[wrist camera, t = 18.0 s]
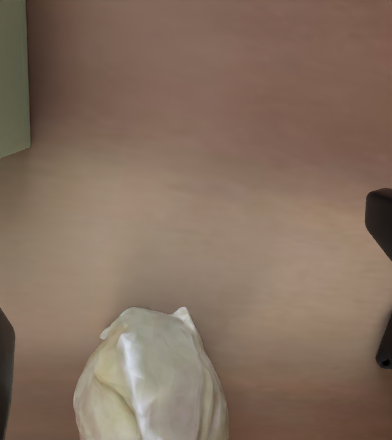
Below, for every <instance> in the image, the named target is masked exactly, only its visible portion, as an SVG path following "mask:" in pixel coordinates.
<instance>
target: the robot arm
mask: <svg viewBox="0 0 392 440" xmlns="http://www.w3.org/2000/svg"><path fill="white" fill-rule="evenodd" d="M365 225H366V228H367V230H368V231H369V233H370V234H371V235H372V237H373V238H374V239H375V240H376V242H377V243H378V244H379V246H380V247H381V248H382V249H383V251H384V252H385V253H386V255H387V256H388V257H389V258H390V260H391V261H392V189H389V188H382V189H379V190H375V191H372V192H370V193H369V194H368V195H367V197H366V210H365ZM14 349H15V332H14V329H13V327H12V325H11V323H10V322H9V320H8V319H7V317H6V316H5V314H4V313H3V311H2V310H1V308H0V440H5V434H6V429H7V423H8V417H9V411H10V405H11V396H12V383H13V366H14ZM386 359H387V360H386ZM384 360H385V361H384ZM376 362H377V363H378V365H379V366H380V367H381V368H384V369H392V315H391V317H390V320H389V323H388V325H387V328H386V331H385V333H384V336H383V339H382V341H381V345H380V348H379V351H378V353H377V356H376Z"/></svg>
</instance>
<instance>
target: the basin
mask: <svg viewBox="0 0 392 440" xmlns="http://www.w3.org/2000/svg"><path fill="white" fill-rule="evenodd" d="M29 147H31V141H30V111H29V82H28V52H27V23H26V0H0V158H2V157H5V156H8V155H10V154H13V153H16V152H19V151H21V150H24V149H27V148H29Z"/></svg>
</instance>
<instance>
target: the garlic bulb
mask: <svg viewBox="0 0 392 440" xmlns="http://www.w3.org/2000/svg"><path fill="white" fill-rule="evenodd" d="M100 338H101V339H102V340H103V341H102V342H101V344H100V345H99V346H98V347H97V349H96V350H95V351H94V353H93V354H92V355H91V356H90V358H89V360H88V362H87V364H86V367H85V369H84V371H83V373H82V375H81V377H80V378H79V381H78V383H77V387H76V390H75V393H74V401H73V406H74V410H75V415H76V424H77V426H78V429H79V434H80V440H229V411H228V407H227V402H226V399H225V395H224V392H223V388H222V385H221V383H220V381H219V378H218V376H217V374H216V372H215V370H214V368H213V365H212V363H211V361H210V359H209V358H208V357H207V356H206V354H205V352H204V348H203V343H202V339H201V337H200V334H199V332H198V330H197V329H196V327H195V325H194V323H193V320H192V318H191V316H190V314H189V312H188V309H187V308H186V307H180V308H179V309H178V310H177V311H176V312H174V313H172V314H167V313H163V312H159V311H155V310H150V309H146V308H140V307H130V308H128V309H127V310H125V311H124V312H123V313H121V315H120V316H119V318H117V319H116V320H115V321H114V322H113V323H112V324H111V326H109V327H107V328H106V329H105V330H104V331H103V332H102V334H101V335H100Z"/></svg>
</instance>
